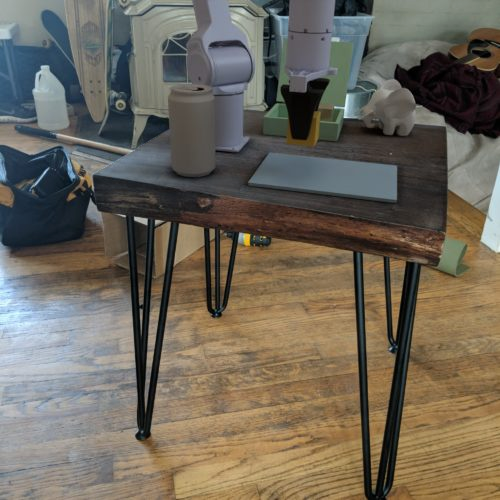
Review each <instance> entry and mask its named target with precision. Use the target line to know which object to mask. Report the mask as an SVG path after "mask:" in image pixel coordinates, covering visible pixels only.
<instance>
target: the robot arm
mask: <svg viewBox="0 0 500 500" xmlns="http://www.w3.org/2000/svg"><path fill="white" fill-rule="evenodd" d="M191 2H192V7H193V12H194V16H195V22H196V26H197V27H196V28H197V29H196V31H194V33H193V34H192V35H191V36H190V38H189V39H188V41H187V42H186V44H185V47H186V48H185V49H186V53H187V63H186V71H187V76H188V79H189V81H190V82H191V83H190V84H200V85H207V86H210V87H211V88H212V91H211V92H212V94H213V95H214V97H215V151H219V152H228V153H229V152H230V153H239V152H240V151H241V150H242V148H244V146H245V145H246V144H247V143H248V142H249V141H250V136H246V135H245V136H244V103H245V102H244V100H245V97H244V96H245V91H248V84H250V83H251V82H252V80H253V78H254V76H255V72H256V60H255V56H254V54H253V52H252V50H251V48H250V46H249V43H248V39H247V35H246V34H245V32H244V31H242V30H241V29H240V28H239V27H238V26H236V24H235V23H234V22H233V21H232V16H231V11H230V5H229V1H228V0H191ZM288 7H289V8H288V9H289V10H288V23H287V24H288V25H287V38H286V39H287V57H286V65H285V66H284V72H285V73H286V75H287V76H288V77H289V78H290V80H289V84H290V85H285V84H283V85H282V86H281V88H280V91H281V95H282V97H283V99H284V101H285V102H284V104H286V107H287V111H288V116H289V124H290V131H291V136H292V139H297V140H307V138H308V136H309V132H310V129H311V124H312V120H313V116H314V112H315V111H318V108H319V104H320V101H321V99H322V96H323V94H324V92H325V90H326V88H327V86H328V84H329V83H330V80H329V79H326V78H321V77H324V76H328V75H336V74H337V71H338V68H334V67H329V61H330V50H331V41H332V39H333V38H332V37H333V30H334V29H333V28H334V17H335V8H336V0H289V6H288Z"/></svg>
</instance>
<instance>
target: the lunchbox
mask: <svg viewBox="0 0 500 500" xmlns="http://www.w3.org/2000/svg"><path fill="white" fill-rule="evenodd" d="M344 117H345V108H341V107H334V114H333V122H326V121H320V125H319V136H318V140H317V141H326V142H327V141H328V142H338V140H339V136H340V134H341V132H342V128H343V125H344ZM262 123H263V124H262V135H267V136H277V137H286V138H287V124H288V111H287V107H286V104H285V103H282V102H277V103H275V104H274V105H273V106H272V107H271V108H270V109H269V110H268V111H267V112H266V113H265V115H264V116H263V121H262Z"/></svg>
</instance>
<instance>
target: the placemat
mask: <svg viewBox="0 0 500 500" xmlns="http://www.w3.org/2000/svg"><path fill="white" fill-rule="evenodd" d="M247 186H250V187H258V188H259V187H260V188H265V189H273V190H274V189H275V190H283V191H291V192H300V193H306V194H307V193H308V194H314V195H315V194H317V195H324V196H334V197H341V198H349V199H358V200H367V201H374V202H382V203H391V204H397V201H398V165H396V164H395V165H394V164H384V163H375V162H366V161H357V160H347V159H337V158H326V157H319V156H311V155H309V156H308V155H299V154H289V153H281V152H271V151H270V152H269V153H268V154H267V155H266V157H265V158H264V160H263V161H262V162H261V163H260V165H259V166H258V168H257V169H256V170H255V172H254V173H253V175H252V176H251V178H250V179H249V180H248V182H247Z"/></svg>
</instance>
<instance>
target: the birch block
mask: <svg viewBox="0 0 500 500" xmlns="http://www.w3.org/2000/svg"><path fill="white" fill-rule="evenodd" d="M334 108H335V106H334V104H323V103H320V104H319V108H318V111H319V112H321V114H320V121H326V122H333V114H334Z"/></svg>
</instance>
